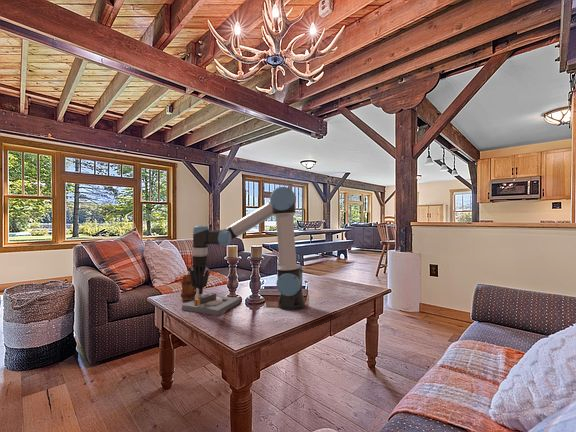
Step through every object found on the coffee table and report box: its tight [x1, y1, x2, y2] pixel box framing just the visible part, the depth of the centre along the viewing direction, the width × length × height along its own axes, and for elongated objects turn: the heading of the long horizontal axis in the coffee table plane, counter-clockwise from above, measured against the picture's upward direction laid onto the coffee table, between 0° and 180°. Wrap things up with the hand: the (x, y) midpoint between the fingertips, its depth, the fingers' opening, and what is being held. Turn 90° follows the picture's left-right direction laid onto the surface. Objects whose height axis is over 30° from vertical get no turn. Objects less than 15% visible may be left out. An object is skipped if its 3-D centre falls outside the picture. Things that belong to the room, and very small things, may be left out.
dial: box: [193, 292, 223, 307], centre depth 156 cm, size 18×11×5 cm, turn 152°
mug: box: [180, 273, 196, 302], centre depth 172 cm, size 15×8×15 cm, turn 143°
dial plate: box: [181, 293, 241, 316], centre depth 159 cm, size 22×22×3 cm
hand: (198, 300), depth 152 cm, fingers closed
